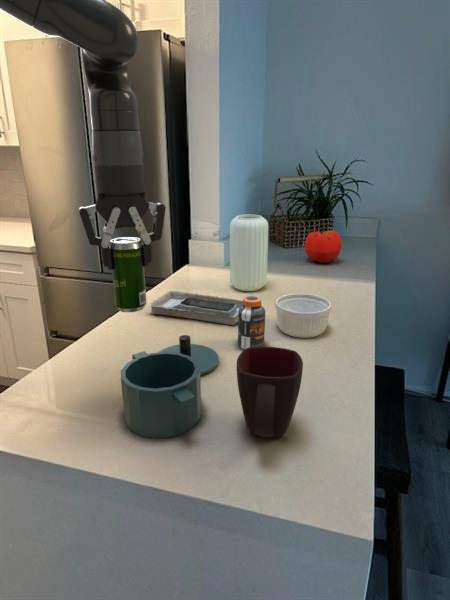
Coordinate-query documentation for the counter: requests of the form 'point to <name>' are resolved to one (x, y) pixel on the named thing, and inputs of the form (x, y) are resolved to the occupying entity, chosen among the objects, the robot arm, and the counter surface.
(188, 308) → the grey metal tray
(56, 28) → the robot arm
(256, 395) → the cup
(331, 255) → the tomato
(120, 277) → the beer can
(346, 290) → the counter surface
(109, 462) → the counter surface
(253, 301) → the pill bottle
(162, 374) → the pot
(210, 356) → the pot lid
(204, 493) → the counter surface
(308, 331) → the ramekin
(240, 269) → the vase
